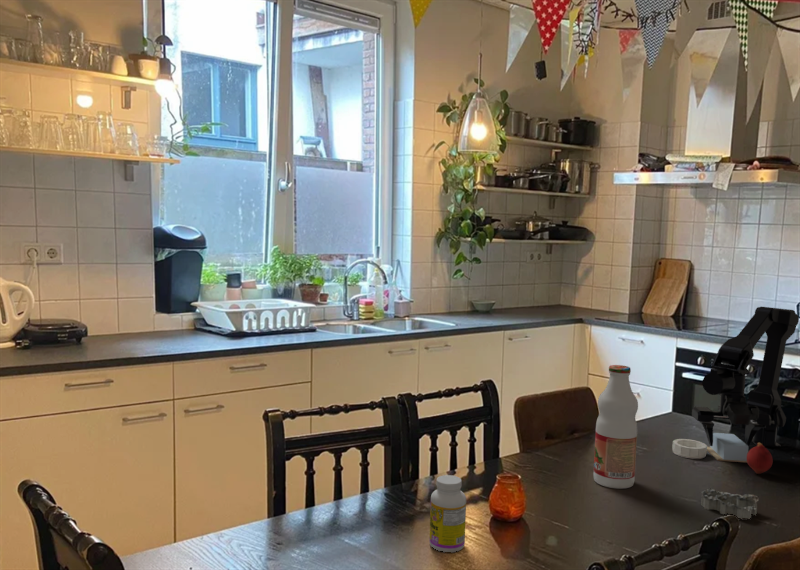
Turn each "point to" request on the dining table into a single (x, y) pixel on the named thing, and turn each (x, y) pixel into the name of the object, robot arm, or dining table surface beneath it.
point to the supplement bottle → (447, 515)
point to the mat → (719, 456)
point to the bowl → (689, 448)
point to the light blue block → (729, 447)
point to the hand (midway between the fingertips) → (728, 446)
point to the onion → (759, 459)
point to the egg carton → (730, 503)
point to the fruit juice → (616, 432)
